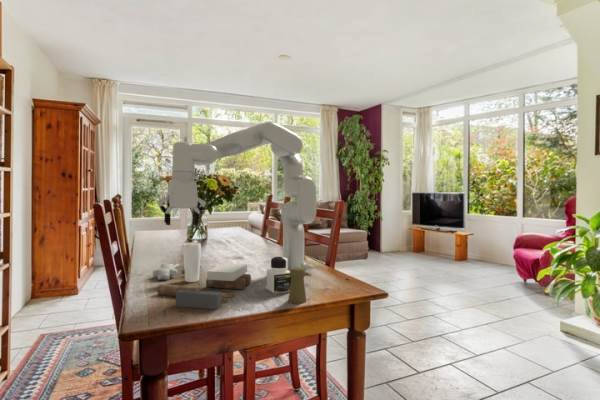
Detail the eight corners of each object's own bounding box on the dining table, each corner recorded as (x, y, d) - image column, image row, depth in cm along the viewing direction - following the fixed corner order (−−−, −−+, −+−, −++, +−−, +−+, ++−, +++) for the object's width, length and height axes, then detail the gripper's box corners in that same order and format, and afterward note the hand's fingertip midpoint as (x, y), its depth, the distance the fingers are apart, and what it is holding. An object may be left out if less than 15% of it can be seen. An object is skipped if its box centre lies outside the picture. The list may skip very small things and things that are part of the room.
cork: (287, 297, 117) (288, 265, 117) (305, 297, 118) (305, 265, 117) (288, 303, 111) (289, 270, 111) (307, 303, 112) (307, 269, 111)
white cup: (195, 283, 133) (195, 245, 133) (179, 282, 135) (179, 244, 134) (204, 279, 140) (204, 242, 140) (188, 278, 141) (188, 241, 141)
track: (251, 283, 135) (251, 273, 134) (226, 302, 112) (226, 290, 112) (217, 281, 137) (217, 271, 137) (187, 299, 115) (187, 287, 115)
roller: (200, 296, 119) (200, 285, 119) (194, 299, 116) (194, 288, 116) (163, 293, 122) (163, 283, 122) (157, 296, 118) (157, 285, 118)
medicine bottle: (274, 294, 121) (274, 260, 121) (266, 288, 128) (266, 256, 127) (292, 291, 124) (292, 258, 124) (283, 286, 131) (284, 255, 130)
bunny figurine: (150, 271, 136) (159, 259, 150) (150, 284, 137) (159, 270, 151) (175, 271, 137) (181, 259, 152) (175, 283, 138) (181, 270, 153)
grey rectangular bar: (221, 306, 108) (221, 292, 108) (217, 309, 105) (217, 295, 105) (181, 303, 111) (181, 289, 111) (175, 306, 108) (175, 291, 108)
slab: (247, 271, 136) (247, 264, 136) (233, 281, 122) (233, 272, 122) (223, 270, 138) (223, 263, 138) (207, 279, 124) (207, 271, 124)
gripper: (202, 178, 132) (201, 223, 132) (155, 175, 122) (153, 224, 122) (210, 178, 126) (208, 224, 126) (160, 175, 116) (159, 226, 116)
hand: (181, 224), depth 124 cm, fingers open, 9 cm apart
